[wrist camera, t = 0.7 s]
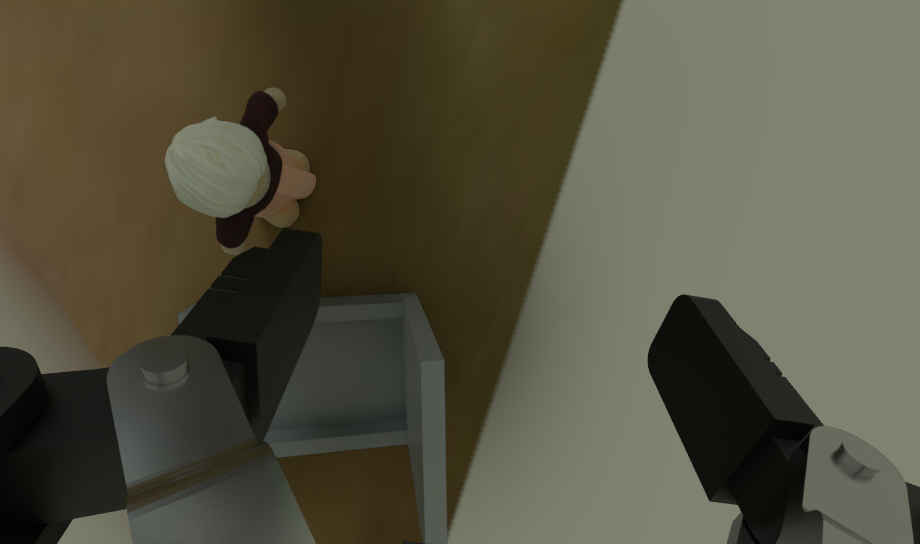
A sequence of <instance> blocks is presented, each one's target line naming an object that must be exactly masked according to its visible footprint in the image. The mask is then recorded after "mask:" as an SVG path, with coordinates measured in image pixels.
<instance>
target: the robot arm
mask: <svg viewBox="0 0 920 544" xmlns="http://www.w3.org/2000/svg"><path fill="white" fill-rule="evenodd" d="M321 266H322V236H321V234H319V233H313V232H307V231H300V230H294V229H288V228H284V229H283V230H282V231H281V232H280V234H279V235H278V236H277V238H276V239H275V241H274V242H273V243H272V245H271V246H270V248H269V249H266V248H259V247H253V248H251V249H249V250H247V251H245V252H244V253H242V254H240V255H238V256H236V257H234V258H233V259H232V260H231V262H230V263H229V264H228V265H227V267H226V268H225V269H224V270H223V271H222V273H221V276H218V278H217V279H216V280H215V281H214V283H213V284H212V285H211V289H208V290H207V291H206V292H205V294H204V295H203V296H202V297H201V299H200V300H199V301H198V302H197V303H196V305H195V306H194V307H193V308H192V310H191V311H190V312H189V313H188V315H187V316H186V317H185V318H184V319H183V321H182V322H181V323H180V324H179V326H178V327H177V328H176V329H175V331H174V332H173V333H172V334H171V335H170V336H164V337H159V338H154V339H151V340H147V341H145V342H142V343H140V344H138V345H136V346H134V347H132V348H130V349H128V350H127V351H125V352H124V353H123V354H121V355H120V356H119V357H118V358H117V359H116V360H115V361H114V362H113V364H112V365H111V367H109V368H102V369H93V370H82V371H71V372H61V373H49V374H41V373H40V370H39V367H38V365H37V362H36V360H35V358H34V357H32V356H31V355H30V354H29V353H27V352H25V351H23V350H20V349H17V348H10V347H0V544H57V543H58V541H59V540H60V538H61V537H62V535H63V534H64V532H65V531H66V529H67V528H68V526H69V524H70V523H71V521H72V520H73V519H75V518H80V517H86V516H91V515H96V514H102V513H107V512H113V511H118V510H124V509H127V513H128V519H129V524H130V530H131V535H132V540H133V544H316V543H315V541H314V539H313V536H312V534H311V532H310V530H309V528H308V525H307V523H306V521H305V519H304V517H303V515H302V512H301V510H300V508H299V506H298V504H297V501H296V499H295V497H294V495H293V493H292V491H291V488H290V486H289V484H288V482H287V480H286V477H285V475H284V473H283V471H282V469H281V467H280V464H279V462H278V460H277V458H276V456H275V454H274V452H273V450H272V448H271V447H270V446H269V444H268V443H267V442H263V441H264V439H265V436H266V434H267V432H268V429H269V427H270V425H271V422H272V420H273V418H274V415H275V413H276V411H277V408H278V406H279V404H280V401H281V399H282V397H283V394H284V392H285V390H286V387H287V385H288V383H289V380H290V378H291V376H292V373H293V371H294V369H295V366H296V364H297V362H298V359H299V357H300V355H301V353H302V350H303V348H304V346H305V343H306V341H307V339H308V336H309V334H310V332H311V329H312V327H313V325H314V322H315V319H316V316H317V313H318V308H319V303H320V294H321ZM648 368H649V372H650V374H651V376H652V379H653V381H654V383H655V385H656V387H657V389H658V391H659V394H660V395H661V398H662V400H663V402H664V404H665V406H666V408H667V411H668V413H669V415H670V417H671V419H672V422H673V423H674V426H675V428H676V430H677V432H678V434H679V437H680V438H681V441H682V443H683V445H684V447H685V449H686V452H687V454H688V456H689V458H690V460H691V462H692V465H693V467H694V469H695V471H696V473H697V475H698V477H699V479H700V482H701V484H702V486H703V488H704V490H705V492H706V495H707V497H708V499H709V501H711V502H719V503H727V504H735V505H738V506H739V508H740V510H741V513H740V514H739V515H738V516H737V517H736V518H735V520H734V521H733V523H732V526H731V530H730V533H729V537H728V541H727V544H920V487H918V486H915V485H912V484H910V483H907V482H905V481H904V479H903V477H902V475H901V474H900V472H899V471H898V469H897V468H896V467H895V466H894V465H893V464H892V463H891V462H890V461H889V460H888V459H887V458H886V457H885V456H884V455H883V454H882V453H881V452H879V451H878V450H877V449H876V448H874V447H873V446H872V445H870V444H869V443H867V442H865V441H864V440H862V439H860V438H859V437H857V436H855V435H853V434H850V433H849V432H846V431H843V430H841V429H838V428H834V427H829V426H824V425H823V424H822V423H821V421H820V420H819V419H818V418H817V417H816V415H815V414H814V413H813V411H812V410H811V409H810V408H809V406H808V405H807V404H806V403H805V401H804V400H803V399H802V398H801V396H800V395H799V394H798V393H797V391H796V390H795V389H794V388H793V386H792V385H791V384H790V383H789V381H788V380H787V379H786V377H782V372H781V371H780V370H779V369H778V367H777V366H776V365H775V364H774V363H773V362H770V357H769V356H768V355H767V354H766V352H765V351H764V350H763V349H762V347H761V346H760V345H759V344H758V342H757V341H756V340H754V339H753V338H752V337H751V336H749V335H748V334H747V333H746V332H744V331H743V330H742V329H741V328H740V327H739V326H738V325H737V324H736V322H735V321H734V320H733V318H732V317H731V316H730V315H729V313H728V312H727V311H726V310H725V308H724V307H723V306H722V304H721V303H720V302H719V301H717V300H715V299H708V298H703V297H697V296H690V295H680V296H678V297H677V298H676V299H675V301H674V302H673V304H672V306H671V308H670V309H669V311H668V313H667V315H666V317H665V319H664V321H663V323H662V325H661V327H660V328H659V330H658V332H657V334H656V336H655V338H654V340H653V342H652V344H651V346H650V349H649V353H648ZM403 544H425V543H416V542H407V541H403Z"/></svg>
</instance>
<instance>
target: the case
mask: <svg viewBox="0 0 920 544" xmlns="http://www.w3.org/2000/svg"><path fill="white" fill-rule="evenodd" d="M195 305H196V303H194V304H192V305H191V306H189V307H188V308H186V309H185V310H183V311H182V312H180V313H178V322H179V324H180V323H181V322H182V321H183V319H184V318H185V317H186V316H187V315H188V313H189V312H190V311H191V310H192V308H193V307H194V306H195ZM263 442H267V443H268V444H269V446H270V447H271V448H272V450H273V452H274V454H275V456H276V458H279V457H288V456H298V455H308V454H317V453H327V452H336V451H346V450H356V449H365V448H375V447H385V446H394V445H404V444H408V446H409V453H410V460H411V467H412V474H413V481H414V488H415V495H416V502H417V509H418V516H419V523H420V530H421V537H422V543H425V544H447V498H446V433H445V368H444V358H443V356H442V353H441V351H440V349H439V346H438V344H437V342H436V339H435V337H434V334H433V332H432V330H431V327H430V325H429V323H428V320H427V318H426V316H425V313H424V311H423V308H422V306H421V304H420V301H419V299H418V297H417V294H416V293H400V294H379V295H358V296H338V297H320V303H319V308H318V313H317V316H316V319H315V322H314V325H313V327H312V329H311V332H310V334H309V336H308V339H307V341H306V343H305V346H304V348H303V350H302V353H301V355H300V357H299V359H298V362H297V364H296V366H295V369H294V371H293V373H292V376H291V378H290V380H289V383H288V385H287V387H286V390H285V392H284V394H283V397H282V399H281V401H280V404H279V406H278V408H277V411H276V413H275V415H274V418H273V420H272V422H271V425H270V427H269V429H268V432H267V434H266V436H265V439H264V441H263Z"/></svg>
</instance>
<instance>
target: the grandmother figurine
mask: <svg viewBox="0 0 920 544" xmlns="http://www.w3.org/2000/svg"><path fill="white" fill-rule="evenodd" d="M285 105H286V97H285V94H284V93H283V92H282V91H281V90H279V89H278V88H268V89H266V90H265V91H257V92H255V93H254V94H252V96H251V97H250V99H249V101H248V103H247V106H246V110H245V113H244V115H243V118H242V120H241V123H240V124H237V123H233V122H227V121H219V120H217V119H216V117H215V116H214V117H213V118H209V119H208V120H205V121H203V122H202V123H198V124H193V125H189V126H187V127H185V128H184V129H182V130H181V131H180V132H178V133H177V134H176V135H175V136H174V138H173V141H172V144H171V145H170V147H169V148H168V150H167V152H166V157H165V164H166V169H167V172H168V174H169V179H170V182H171V184H172V186H173V189H174V192H175V193H176V195H177V197H178V199H179V200H180V201H181V202H182V203H184V204H185V205H187V206H188V207H190V208H192V209H194V210H196V211H199V212H202V213H204V214H207V215H210V216H213V217H216V236H217V240H218V241H219V243H220V244H221V248H222V250H223V251H224V252H225V253H227V254H229V255H237V254H240V253H241V252H242V251H243V250H244V248H245V239H246V238H247V236H248V233H249V231H250V228H251V226H252V223H253V220H254V217H263V218H265V219H266V220H267V221H268V222H270V223H271V224H272V225H274V226H276V227H279V228H285V227H289V226H291V225H292V224H293V223H294V222H295V221H296V219H297V218H298V216H299V212H300V208H299V204H298V202H297V201H296V200H295V199H302V198H305V197H308V196H309V195H310V194H311V193H312V192H313V190H314V188H315V185H316V177H315V175H314V174H312V173H309V171H310V163H309V161H308V159H307V157H306V156H305V155H304V154H303V153H301V152H299V151H296V150H289V149H284V148H282V147H281V146H280V145H279V144H277V143H276V142H273V141H270V140H268V135H267V130H268V128H269V127H270V126H271V125H272V124H273V122H274V120H275V118H276V117H277V115H278V113H279V111H281V110H282V109H283V108H284V107H285Z"/></svg>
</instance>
